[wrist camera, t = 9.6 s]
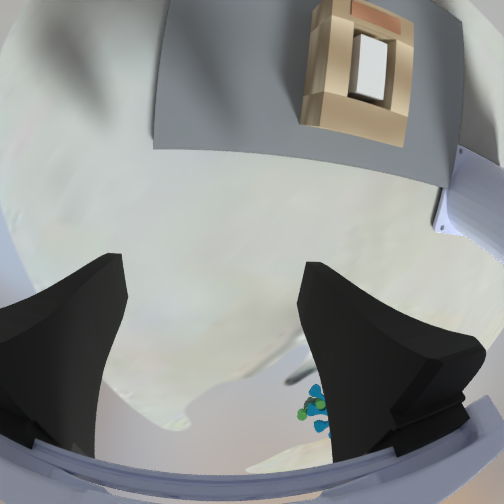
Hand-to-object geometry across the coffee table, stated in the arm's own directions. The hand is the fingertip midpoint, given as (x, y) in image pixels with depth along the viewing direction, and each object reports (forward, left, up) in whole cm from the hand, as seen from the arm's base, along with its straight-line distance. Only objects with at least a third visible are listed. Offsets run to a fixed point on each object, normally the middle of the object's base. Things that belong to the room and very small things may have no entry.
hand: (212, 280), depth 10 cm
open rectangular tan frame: (-7, -10, -7) cm, 14 cm away
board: (-7, -12, -8) cm, 16 cm away
